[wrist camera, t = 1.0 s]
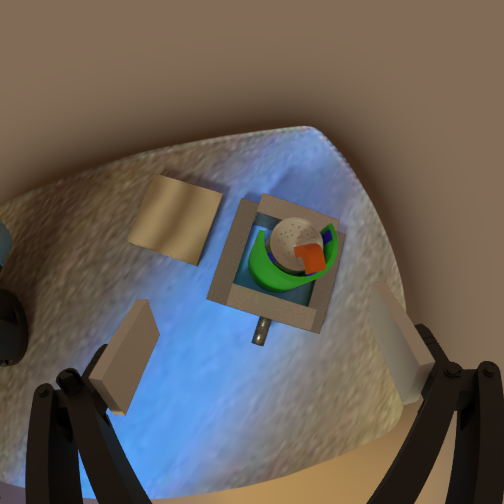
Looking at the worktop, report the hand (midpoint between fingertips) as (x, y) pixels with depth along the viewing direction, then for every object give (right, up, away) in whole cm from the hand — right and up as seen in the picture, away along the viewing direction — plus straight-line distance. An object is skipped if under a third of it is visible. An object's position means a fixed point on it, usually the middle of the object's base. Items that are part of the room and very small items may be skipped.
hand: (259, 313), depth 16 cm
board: (-13, +9, +29) cm, 33 cm away
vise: (+3, -1, +29) cm, 29 cm away
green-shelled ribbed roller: (+4, +1, +29) cm, 30 cm away
